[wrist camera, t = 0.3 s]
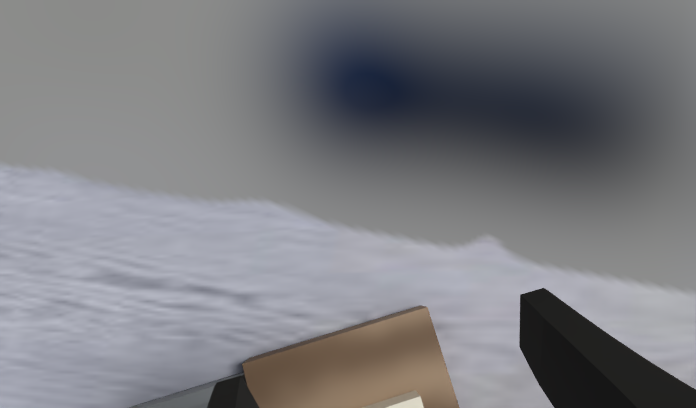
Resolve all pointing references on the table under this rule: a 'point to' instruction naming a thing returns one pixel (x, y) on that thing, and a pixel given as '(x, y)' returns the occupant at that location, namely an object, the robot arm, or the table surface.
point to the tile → (400, 401)
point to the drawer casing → (356, 367)
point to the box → (187, 397)
